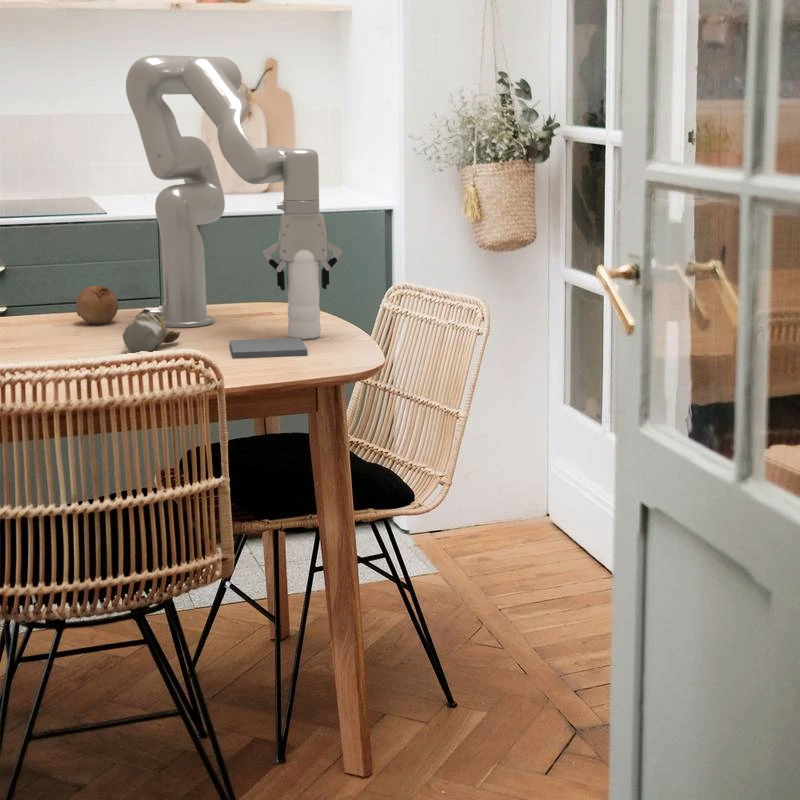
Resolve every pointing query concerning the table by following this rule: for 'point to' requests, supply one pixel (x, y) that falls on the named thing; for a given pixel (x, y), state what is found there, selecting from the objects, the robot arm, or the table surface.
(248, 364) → the table surface
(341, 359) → the table surface
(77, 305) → the onion
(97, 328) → the table surface
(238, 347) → the slate mat
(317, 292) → the water bottle
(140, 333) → the ceramic sculpture
